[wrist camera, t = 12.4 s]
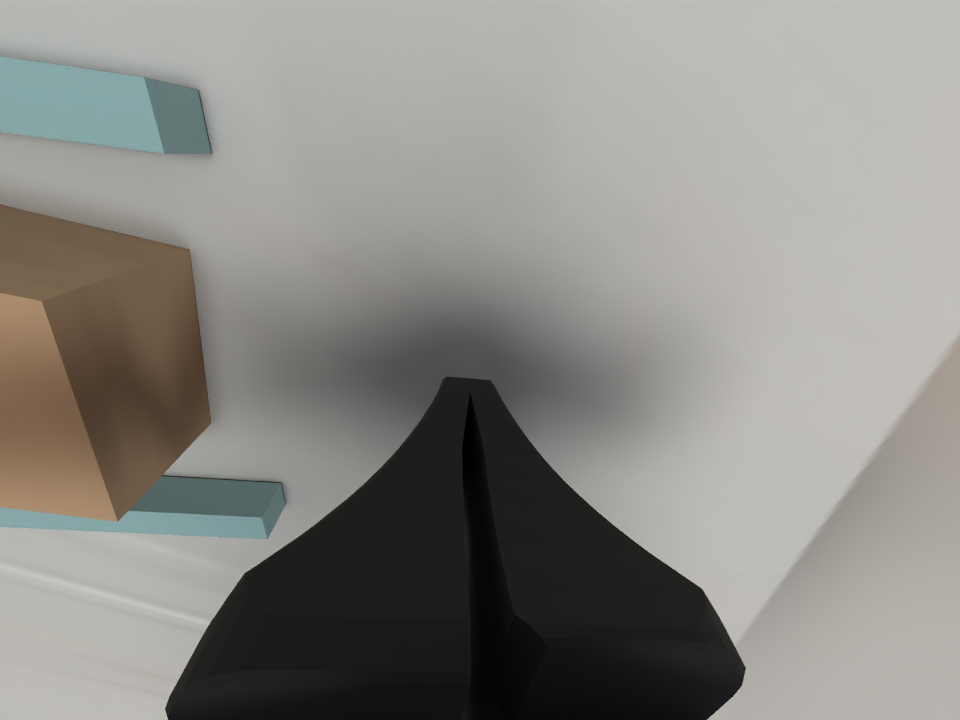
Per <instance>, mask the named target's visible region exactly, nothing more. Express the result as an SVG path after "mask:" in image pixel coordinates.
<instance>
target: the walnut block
mask: <svg viewBox="0 0 960 720" xmlns="http://www.w3.org/2000/svg"><path fill="white" fill-rule="evenodd" d="M210 424H211V418H210V410H209V402H208V394H207V386H206V378H205V370H204V361H203V353H202V345H201V337H200V329H199V321H198V313H197V305H196V296H195V288H194V280H193V272H192V264H191V256H190V249H186V248H181V247H177V246H173V245H169V244H164V243H160V242H156V241H152V240H147V239H143V238H139V237H135V236H130V235H126V234H122V233H118V232H113V231H109V230H105V229H101V228H96V227H92V226H88V225H84V224H79V223H75V222H71V221H67V220H62V219H58V218H54V217H50V216H45V215H41V214H37V213H33V212H28V211H24V210H20V209H16V208H11V207H7V206H3V205H0V507H3V508H11V509H19V510H27V511H35V512H43V513H51V514H59V515H67V516H75V517H83V518H91V519H99V520H107V521H115V522H118V521H119V520H120V519H121V518H122V517H123V516H124V515H125V514H126V513H127V512H128V511H129V509H130V508H131V507H132V506H133V505H134V504H135V503H136V502H137V501H138V500H139V499H140V498H141V497H142V496H143V495H144V494H145V493H146V491H147V490H148V489H149V488H150V487H151V486H152V485H153V484H154V483H155V482H156V481H157V480H158V479H159V478H160V477H161V476H162V475H163V473H164V472H165V471H166V470H167V469H168V468H169V467H170V466H171V465H172V464H173V463H174V462H175V461H176V460H177V459H178V458H179V457H180V455H181V454H182V453H183V452H184V451H185V450H186V449H187V448H188V447H189V446H190V445H191V444H192V443H193V442H194V441H195V440H196V439H197V437H198V436H199V435H200V434H201V433H202V432H203V431H204V430H205V429H206V428H207V427H208V426H209V425H210Z"/></svg>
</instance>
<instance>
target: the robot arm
mask: <svg viewBox="0 0 960 720" xmlns="http://www.w3.org/2000/svg"><path fill="white" fill-rule="evenodd" d="M745 669H746V668H745V666H744V664H743V662H742V660H741V658H740V656H739V654H738V652H737V650H736V648H735V646H734V644H733V642H732V641H731V639H730V637H729V635H728V633H727V631H726V629H725V627H724V625H723V623H722V621H721V620H720V618H719V616H718V614H717V613H716V611H715V609H714V608H713V606H712V604H711V603H710V601H709V599H708V598H707V596H706V595H705V593H704V591H703V590H702V589H701V588H700V587H698V586H697V585H695V584H694V583H693V582H691V581H690V580H688V579H687V578H685V577H684V576H682V575H681V574H679V573H678V572H677V571H675V570H674V569H672V568H671V567H669V566H668V565H666V564H665V563H663V562H662V561H661V560H659V559H658V558H656V557H655V556H653V555H652V554H650V553H649V552H648V551H646V550H645V549H643V548H642V547H641V546H639V545H638V544H637V543H636V542H634V541H633V540H632V539H630V538H629V537H628V536H627V535H625V534H624V533H623V532H621V531H620V530H619V529H618V528H616V527H615V526H614V525H613V524H611V523H610V522H609V521H608V520H607V519H605V518H604V517H603V516H602V515H601V514H599V513H598V512H597V511H596V510H595V509H594V508H593V507H591V506H590V505H589V504H588V503H587V502H586V501H585V500H584V499H583V498H582V497H580V496H579V495H578V494H577V493H576V492H575V491H574V490H573V489H572V488H571V487H570V486H569V485H568V484H567V483H566V482H565V481H564V480H563V479H562V478H561V477H560V476H559V475H558V474H557V473H556V472H555V471H554V470H553V469H552V468H551V467H550V465H549V464H548V463H547V462H546V461H545V460H544V458H543V457H542V456H541V455H540V454H539V452H538V451H537V450H536V449H535V447H534V446H533V445H532V443H531V442H530V441H529V440H528V438H527V437H526V436H525V434H524V433H523V431H522V430H521V428H520V427H519V426H518V424H517V423H516V421H515V420H514V418H513V417H512V415H511V414H510V412H509V411H508V409H507V407H506V406H505V404H504V402H503V401H502V399H501V397H500V395H499V394H498V392H497V390H496V388H495V386H494V384H493V383H492V382H491V381H490V380H480V379H469V378H457V377H446V378H444V379H443V380H442V384H441V386H440V389H439V391H438V393H437V395H436V397H435V399H434V400H433V402H432V404H431V405H430V407H429V409H428V410H427V412H426V413H425V415H424V416H423V418H422V419H421V421H420V422H419V424H418V425H417V426H416V427H415V429H414V430H413V431H412V433H411V434H410V435H409V437H408V438H407V439H406V440H405V442H404V443H403V444H402V445H401V446H400V448H399V449H398V450H397V451H396V452H395V453H394V454H393V456H392V457H391V458H390V459H389V460H388V461H387V462H386V463H385V464H384V465H383V466H382V467H381V468H380V469H379V470H378V471H377V472H376V473H375V474H374V475H373V476H372V477H371V478H370V479H369V480H368V481H367V482H366V483H365V484H363V485H362V486H361V487H360V488H359V489H358V490H357V491H356V492H355V493H354V494H352V495H351V496H350V497H349V498H348V499H347V500H345V501H344V502H343V503H342V504H340V505H339V506H338V507H337V508H335V509H334V510H333V511H332V512H330V513H329V514H328V515H327V516H325V517H324V518H323V519H322V520H320V521H319V522H318V523H317V524H315V525H314V526H313V527H311V528H310V529H309V530H307V531H306V532H305V533H303V534H302V535H301V536H299V537H298V538H296V539H295V540H293V541H292V542H290V543H289V544H287V545H286V546H285V547H283V548H282V549H280V550H279V551H277V552H276V553H274V554H273V555H271V556H270V557H269V558H267V559H266V560H264V561H263V562H261V563H260V564H258V565H257V566H255V567H254V568H252V569H251V570H249V571H248V572H246V573H245V574H244V575H243V577H242V578H241V579H240V581H239V582H238V583H237V585H236V586H235V588H234V589H233V591H232V592H231V593H230V595H229V596H228V598H227V599H226V601H225V602H224V604H223V605H222V607H221V608H220V610H219V611H218V613H217V614H216V616H215V617H214V618H213V620H212V621H211V623H210V624H209V626H208V628H207V629H206V631H205V633H204V635H203V636H202V638H201V640H200V642H199V644H198V645H197V647H196V649H195V651H194V653H193V655H192V656H191V658H190V660H189V662H188V664H187V666H186V667H185V669H184V671H183V673H182V675H181V677H180V679H179V680H178V682H177V684H176V686H175V688H174V690H173V691H172V693H171V695H170V697H169V700H168V703H167V705H166V708H165V710H166V714H167V717H168V720H707V719H708V718H709V717H710V716H711V715H713V714H714V713H715V712H716V711H717V710H718V709H719V708H720V707H721V706H723V705H724V704H725V703H726V702H727V701H728V700H729V699H730V698H731V697H733V695H734V694H735V693H736V692H737V691H738V689H739V688H740V687H741V686H742V682H743V678H744V673H745Z"/></svg>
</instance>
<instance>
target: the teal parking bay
mask: <svg viewBox="0 0 960 720" xmlns="http://www.w3.org/2000/svg"><path fill="white" fill-rule="evenodd" d="M0 132H4V133H12V134H19V135H27V136H35V137H42V138H50V139H57V140H65V141H73V142H80V143H88V144H96V145H103V146H111V147H118V148H126V149H134V150H141V151H149V152H156V153H164V154H199V153H211V150H210V145H209V140H208V136H207V131H206V126H205V121H204V117H203V112H202V107H201V103H200V98H199V93H198V90H196V89H191V88H187V87H183V86H178V85H174V84H170V83H166V82H161V81H157V80H153V79H149V78H144V77H138V76H131V75H124V74H117V73H111V72H104V71H97V70H90V69H84V68H77V67H70V66H63V65H57V64H50V63H43V62H36V61H30V60H23V59H16V58H9V57H2V56H0ZM284 506H285V499H284V495H283V490H282V485H281V483H269V482H252V481H235V480H218V479H201V478H184V477H167V476H161V477H160V478H159V479H158V480H157V481H156V482H155V483H154V484H153V485H152V486H151V487H150V488H149V489H148V490H147V491H146V493H145V494H144V495H143V496H142V497H141V498H140V499H139V500H138V501H137V502H136V503H135V504H134V505H133V506H132V507H131V508H130V509H129V511H128V512H127V513H126V514H125V515H124V516H123V517H122V518H121V519H120V520H119V521H118V522H115V521H107V520H99V519H91V518H83V517H75V516H67V515H59V514H51V513H43V512H35V511H27V510H19V509H11V508H3V507H0V527H12V528H34V529H56V530H77V531H99V532H121V533H143V534H165V535H187V536H209V537H231V538H253V539H268V537H269V535H270V533H271V531H272V529H273V528H274V526H275V524H276V522H277V520H278V518H279V516H280V514H281V512H282V510H283V508H284Z"/></svg>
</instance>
